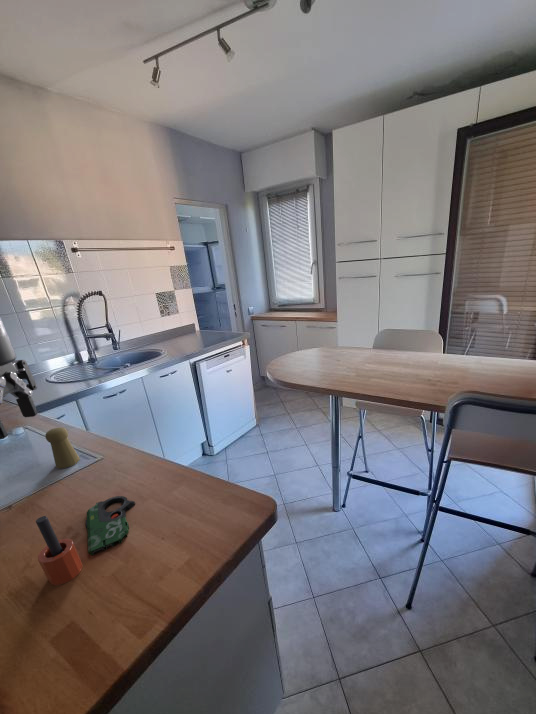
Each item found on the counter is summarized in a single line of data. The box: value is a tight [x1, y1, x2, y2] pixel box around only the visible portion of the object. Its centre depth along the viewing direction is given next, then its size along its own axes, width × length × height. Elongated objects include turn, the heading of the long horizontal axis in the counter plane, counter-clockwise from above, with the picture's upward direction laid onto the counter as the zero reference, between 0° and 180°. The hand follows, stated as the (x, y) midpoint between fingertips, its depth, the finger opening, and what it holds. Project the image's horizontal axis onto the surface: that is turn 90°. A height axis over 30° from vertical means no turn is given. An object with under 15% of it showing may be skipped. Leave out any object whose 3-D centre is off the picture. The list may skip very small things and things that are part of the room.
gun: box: [85, 495, 136, 556], centre depth 72 cm, size 16×1×10 cm
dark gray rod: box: [35, 515, 63, 557], centre depth 59 cm, size 2×2×12 cm
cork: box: [44, 426, 81, 470], centre depth 95 cm, size 6×6×11 cm
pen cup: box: [37, 537, 83, 586], centre depth 60 cm, size 5×5×6 cm
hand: (16, 426), depth 59 cm, fingers open, 8 cm apart
